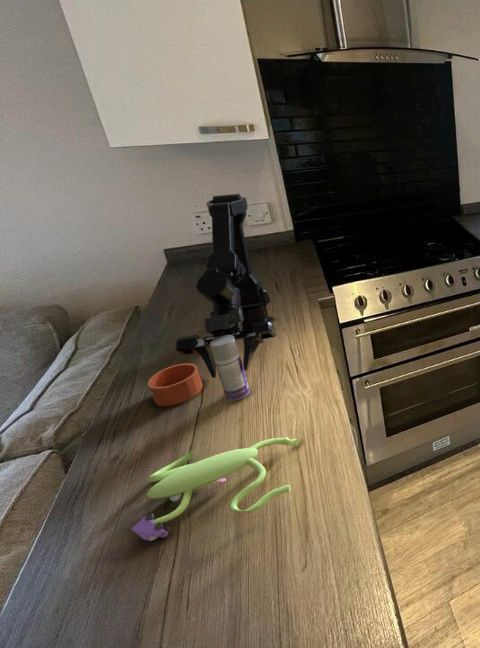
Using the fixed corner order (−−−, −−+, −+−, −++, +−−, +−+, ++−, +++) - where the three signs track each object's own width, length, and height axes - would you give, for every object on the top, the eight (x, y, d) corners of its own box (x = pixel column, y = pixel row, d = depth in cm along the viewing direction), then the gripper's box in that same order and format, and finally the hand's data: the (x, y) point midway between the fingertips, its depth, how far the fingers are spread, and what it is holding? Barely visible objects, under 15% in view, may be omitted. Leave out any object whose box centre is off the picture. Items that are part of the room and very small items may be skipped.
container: (233, 388, 105) (217, 334, 100) (253, 387, 105) (238, 334, 100) (222, 401, 101) (204, 346, 95) (243, 400, 101) (226, 345, 96)
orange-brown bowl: (183, 377, 109) (177, 360, 107) (212, 383, 107) (206, 366, 105) (144, 402, 100) (137, 384, 99) (175, 409, 98) (168, 391, 97)
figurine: (286, 525, 73) (279, 501, 71) (101, 557, 68) (87, 533, 66) (316, 441, 90) (311, 419, 88) (169, 461, 85) (160, 439, 83)
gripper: (163, 307, 94) (163, 379, 89) (263, 290, 101) (269, 356, 96) (183, 321, 104) (185, 387, 98) (273, 305, 111) (279, 365, 106)
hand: (229, 373), depth 99 cm, fingers open, 6 cm apart
